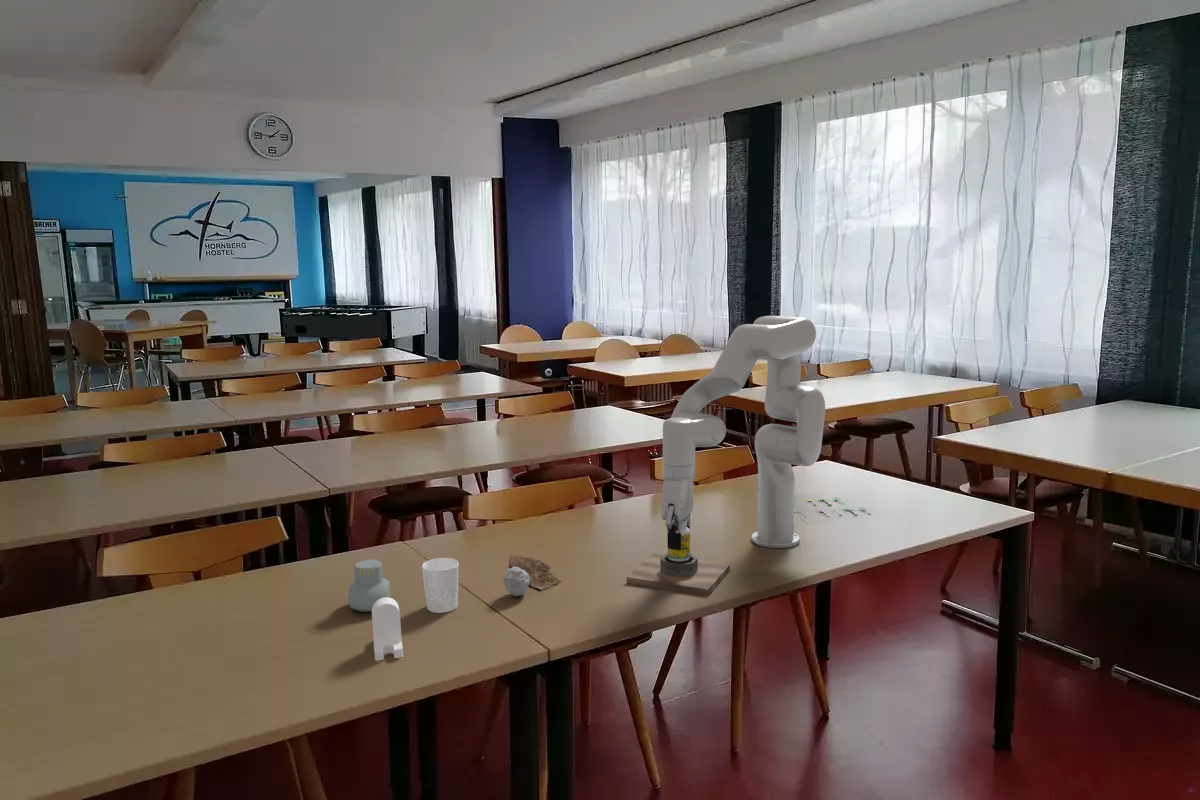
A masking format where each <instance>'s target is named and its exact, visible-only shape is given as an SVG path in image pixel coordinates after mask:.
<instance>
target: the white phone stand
mask: <svg viewBox="0 0 1200 800" xmlns="http://www.w3.org/2000/svg"><path fill="white" fill-rule="evenodd" d="M371 619H372V620H371V621H372V638H373V649H374V652H373V653H374V661H375V660H383V659H384V660H385V655H384V654H386V653H393V654H392V655H393V657H394V659H395V658H398V659H400V658H399V657H402V658H404V651H403V650H404V649H403V641H402V627H401V626H402V625H401V624H402V623H401V612H400V607H399V603H398V602H397V600H395V599H394V598H392V597H390V598H389V597H384V598H381V599H379V600H377V601H376V602H375V603H374V605H373V607H372V611H371ZM386 655H387V654H386Z"/></svg>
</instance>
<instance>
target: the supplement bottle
mask: <svg viewBox="0 0 1200 800" xmlns="http://www.w3.org/2000/svg"><path fill="white" fill-rule="evenodd" d="M673 520H677V517H673ZM673 524H675V526H677V523H676V522H673ZM686 526H687V519H686V518H684V519H683V520H682V521H681V524H680V533H681V549H680V550H675V549H669V548H668V547H667V554H668V558H669V559H670V560H672V561H677V562H682V561H686V560H688V559H689V558H690V554H691V529H690V530H689V528H688V527H686Z"/></svg>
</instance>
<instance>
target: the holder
mask: <svg viewBox="0 0 1200 800" xmlns="http://www.w3.org/2000/svg"><path fill="white" fill-rule="evenodd" d="M730 571H731V565H730V564H729V563H723V562H722V563H721V562H714V561H706V560H700V559H698V558H697V557H696V556H695V555H694V554H692V553H690V558H689V559H688V560H686V561H682V562H677V561H672V560H670V559H669V558H668V553H665V554H657V553H652V554H651V555H650V556H649V557H648V558H647V559H645V560H644V561H643V562H642V563H641V564H639V565H638V566H637V567H636V568H635V569H633V571H631V572H630V574H628V575H627V576H626V584H631V585H637V586H645V587H650V588H656V589H662V590H668V591H675V592H681V593H688V594H694V595H701V596H710V594H711V593H712V592H713V591H714V590H715V588H717V586H718V585H719V584H720V583H721V581H723V579H724V578H725V577H726V575H727V574H728V573H730Z"/></svg>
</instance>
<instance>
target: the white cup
mask: <svg viewBox="0 0 1200 800" xmlns="http://www.w3.org/2000/svg"><path fill="white" fill-rule="evenodd" d="M421 570H422V581H423V587H424V588H423V589H424V597H425V600H426V609H427V611H429V612H430V613H435V614H444V613H445V612H446V613H449V612H452V611H455V610H456V609H458V606H459V580H460V579H459V574H460V573H459V561H458V560H456V559H455V558H450V557H438V558H433V559H429V560H426V561H425V562H423V563H422V564H421ZM454 609H455V610H454Z"/></svg>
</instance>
